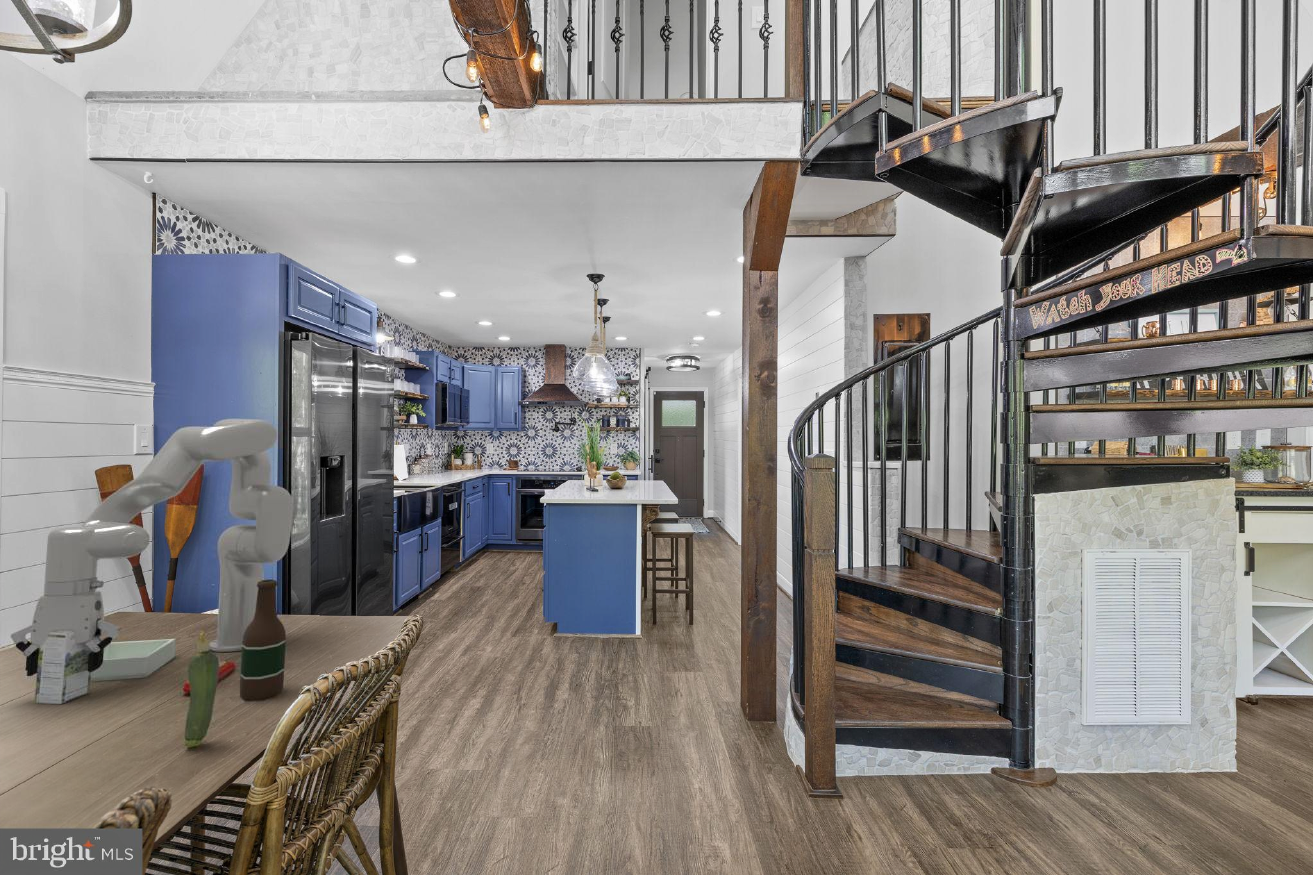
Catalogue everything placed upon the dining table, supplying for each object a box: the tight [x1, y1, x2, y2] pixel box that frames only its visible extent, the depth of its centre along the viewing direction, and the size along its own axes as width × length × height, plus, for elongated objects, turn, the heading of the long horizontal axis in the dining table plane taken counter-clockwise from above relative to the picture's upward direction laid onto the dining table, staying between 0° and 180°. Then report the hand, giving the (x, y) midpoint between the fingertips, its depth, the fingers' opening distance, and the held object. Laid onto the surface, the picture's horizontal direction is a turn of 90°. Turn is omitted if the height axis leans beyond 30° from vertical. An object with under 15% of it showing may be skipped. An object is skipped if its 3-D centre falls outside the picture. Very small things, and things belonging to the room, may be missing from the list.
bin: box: [90, 638, 177, 682], centre depth 134 cm, size 14×14×4 cm
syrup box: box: [34, 631, 92, 705], centre depth 118 cm, size 6×6×14 cm
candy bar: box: [182, 659, 236, 694], centre depth 129 cm, size 16×4×3 cm, turn 11°
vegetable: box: [184, 631, 220, 749], centre depth 101 cm, size 4×4×20 cm
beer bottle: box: [239, 579, 287, 702], centre depth 123 cm, size 8×8×24 cm
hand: (64, 671), depth 118 cm, fingers open, 9 cm apart
